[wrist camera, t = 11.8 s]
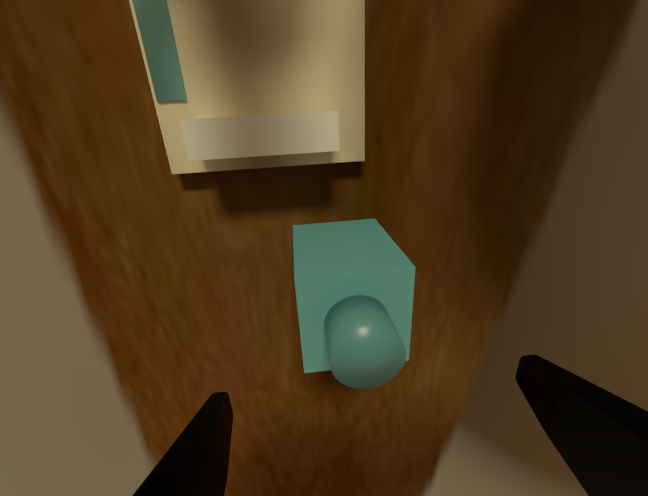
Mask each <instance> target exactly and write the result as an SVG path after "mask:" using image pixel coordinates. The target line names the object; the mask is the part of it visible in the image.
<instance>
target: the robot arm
mask: <svg viewBox="0 0 648 496" xmlns="http://www.w3.org/2000/svg"><path fill="white" fill-rule="evenodd" d="M516 381H517V383H518V385H519V387H520V389H521V390H522V392H523V394H524V396H525V398H526V399H527V401H528V403H529V405H530V406H531V408H532V410H533V412H534V413H535V415H536V417H537V418H538V420H539V422H540V424H541V426H542V427H543V429H544V431H545V432H546V434H547V435H548V437H549V438H550V440H551V441H552V443H553V444H554V446H555V447H556V449H557V450H558V452H559V453H560V454H561V456H562V458H563V459H564V460H565V462H566V463H567V465H568V466H569V468H570V469H571V471H572V472H573V474H574V475H575V476H576V478H577V479H578V481H579V482H580V484H581V485H582V486H583V488H584V489H585V491H586V492H587V494H588V495H589V496H648V411H646V410H644V409H642V408H640V407H638V406H636V405H634V404H632V403H630V402H628V401H626V400H624V399H622V398H620V397H618V396H616V395H614V394H613V393H611V392H608V391H607V390H604V389H603V388H600V387H598V386H597V385H595V384H593V383H591V382H589V381H587V380H585V379H583V378H581V377H579V376H577V375H575V374H573V373H571V372H569V371H567V370H565V369H563V368H561V367H559V366H557V365H555V364H553V363H551V362H549V361H547V360H545V359H543V358H541V357H539V356H537V355H526V356H522V357H521V358H520V361H519V365H518V369H517V372H516ZM232 423H233V411H232V407H231V403H230V399H229V395H228V393H227V392H218V393H213V394H212V395H211V396H210V397H209V398H208V400H207V401H206V402H205V404H204V405H203V406H202V407H201V409H200V410H199V411H198V413H197V414H196V415H195V416H194V418H193V419H192V420H191V421H190V423H189V424H188V425H187V427H186V428H185V429H184V430H183V432H182V433H181V434H180V436H179V437H178V438H177V439H176V441H175V442H174V443H173V444H172V446H171V447H170V448H169V450H168V451H167V452H166V453H165V455H164V456H163V457H162V459H161V460H160V461H159V462H158V464H157V465H156V466H155V467H154V469H153V470H152V471H151V473H150V474H149V475H148V476H147V478H146V479H145V480H144V482H143V483H142V484H141V485H140V487H139V488H138V489H137V491H136V492H135V493H134V494H133V496H224V492H225V487H226V481H227V474H228V465H229V454H230V444H231V433H232Z"/></svg>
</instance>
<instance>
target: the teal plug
mask: <svg viewBox="0 0 648 496" xmlns="http://www.w3.org/2000/svg"><path fill="white" fill-rule="evenodd" d="M293 249H294V280H295V290H296V299H297V309H298V318H299V328H300V337H301V347H302V356H303V366H304V373H310V372H319V371H327V370H331V371H332V373H333V375H334V377H335V378H336V379H337V380H338V381H339V382H340V383H342V384H344V385H346V386H348V387H351V388H357V389H369V388H374V387H377V386H380V385H383V384H385V383H387V382H388V381H390V380H391V379H393V378H394V377H395V376H396V375H397V374H398V373H399V372H400V370H401V369H402V367H403V365H404V363H405V361H409V351H410V337H411V323H412V309H413V295H414V281H415V266H414V265H413V264H412V263H411V261H410V260H409V259H408V258H407V257H406V255H405V254H404V253H403V252H402V251H401V249H400V248H399V247H398V246H397V245H396V243H395V242H394V241H393V240H392V239H391V237H390V236H389V235H388V234H387V233H386V231H385V230H384V229H383V228H382V227H381V226H380V224H379V223H378V222H377V221H376V220H375V219H364V220H352V221H341V222H329V223H317V224H305V225H294V226H293Z"/></svg>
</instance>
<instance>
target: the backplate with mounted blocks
mask: <svg viewBox="0 0 648 496" xmlns="http://www.w3.org/2000/svg"><path fill="white" fill-rule="evenodd" d="M129 2H130V6H131V10H132V14H133V18H134V22H135V26H136V30H137V34H138V39H139V43H140V47H141V51H142V55H143V59H144V63H145V67H146V71H147V75H148V79H149V83H150V87H151V91H152V95H153V99H154V103H155V107H156V111H157V116H158V120H159V124H160V128H161V132H162V136H163V140H164V144H165V148H166V152H167V156H168V160H169V164H170V168H171V172H172V174H183V173H197V172H212V171H226V170H240V169H255V168H269V167H283V166H298V165H312V164H326V163H340V162H355V161H365V0H129Z"/></svg>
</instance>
